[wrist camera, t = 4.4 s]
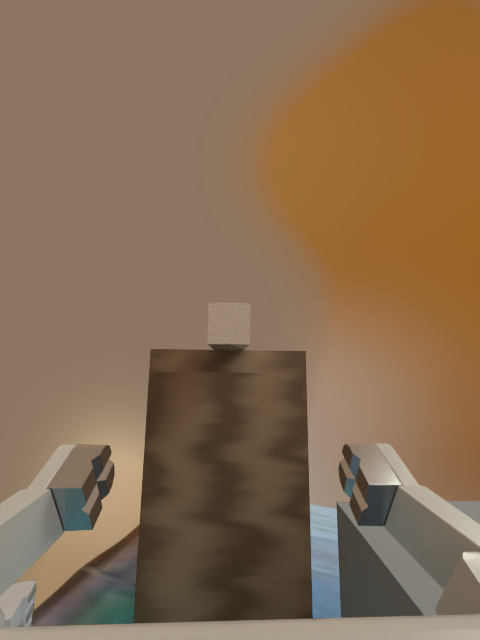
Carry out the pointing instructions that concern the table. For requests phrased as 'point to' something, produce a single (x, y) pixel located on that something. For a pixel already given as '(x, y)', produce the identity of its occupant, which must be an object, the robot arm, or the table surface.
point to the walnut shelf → (225, 488)
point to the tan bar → (229, 326)
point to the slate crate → (384, 570)
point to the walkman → (18, 604)
